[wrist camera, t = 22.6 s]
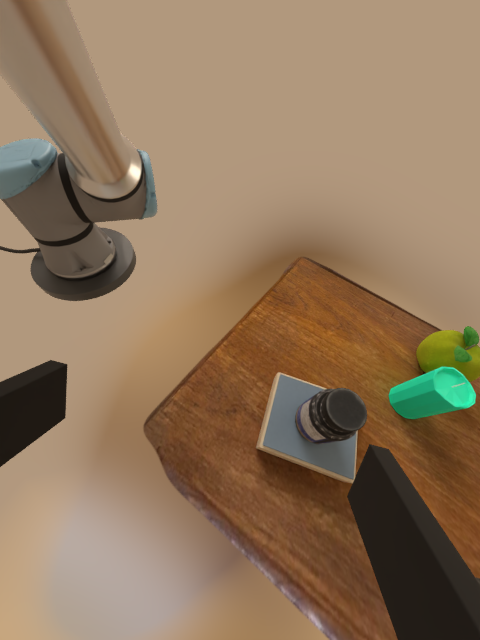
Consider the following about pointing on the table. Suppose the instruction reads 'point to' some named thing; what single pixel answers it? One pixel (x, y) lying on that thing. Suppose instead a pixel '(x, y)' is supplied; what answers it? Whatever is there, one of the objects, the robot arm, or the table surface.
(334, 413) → the pill bottle
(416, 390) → the candle
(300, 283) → the table surface
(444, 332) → the fruit
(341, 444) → the blue topped tan slab
